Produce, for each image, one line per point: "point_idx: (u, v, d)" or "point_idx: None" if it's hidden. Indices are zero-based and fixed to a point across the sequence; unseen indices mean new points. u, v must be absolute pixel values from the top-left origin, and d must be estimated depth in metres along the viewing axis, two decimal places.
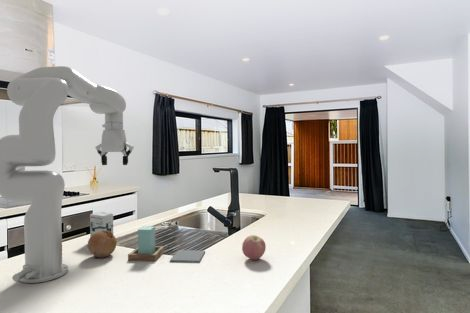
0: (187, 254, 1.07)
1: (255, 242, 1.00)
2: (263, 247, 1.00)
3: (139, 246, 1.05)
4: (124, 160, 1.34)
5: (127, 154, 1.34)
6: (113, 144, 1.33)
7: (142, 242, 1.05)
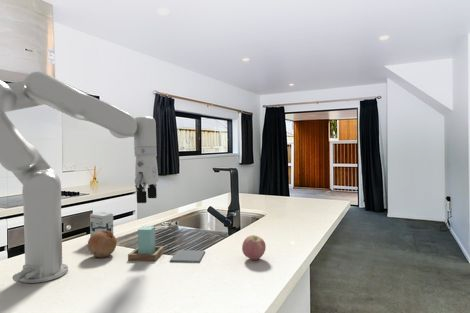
0: (187, 254, 1.07)
1: (255, 242, 1.00)
2: (263, 247, 1.00)
3: (139, 246, 1.05)
4: None
5: None
6: (154, 174, 1.07)
7: (142, 242, 1.05)
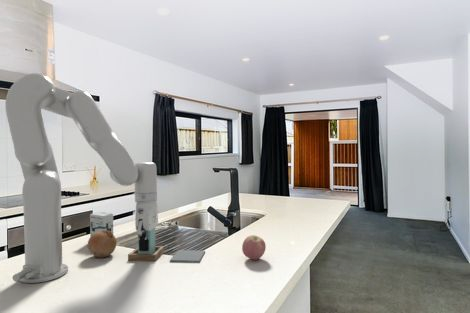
0: (187, 254, 1.07)
1: (255, 242, 1.00)
2: (263, 247, 1.00)
3: None
4: None
5: None
6: (154, 219, 1.08)
7: None
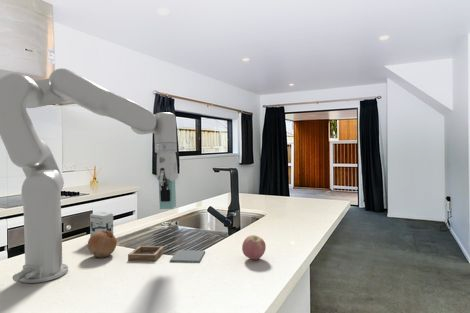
0: (187, 254, 1.07)
1: (255, 242, 1.00)
2: (263, 247, 1.00)
3: (160, 197, 1.04)
4: None
5: None
6: (175, 170, 1.07)
7: None
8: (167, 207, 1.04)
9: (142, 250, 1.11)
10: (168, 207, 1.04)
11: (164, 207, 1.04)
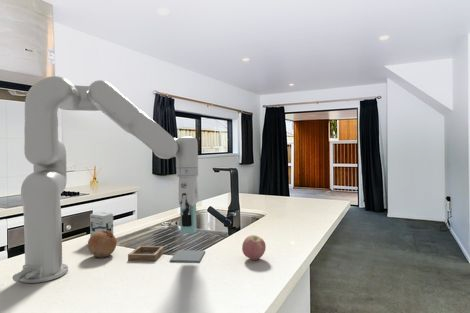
0: (187, 254, 1.07)
1: (255, 242, 1.00)
2: (263, 247, 1.00)
3: None
4: None
5: None
6: (196, 194, 1.06)
7: None
8: (188, 232, 1.03)
9: (142, 250, 1.11)
10: (189, 232, 1.03)
11: (185, 232, 1.04)
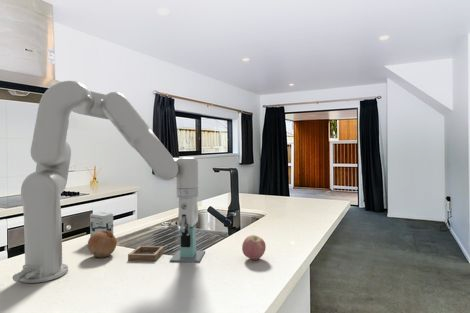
0: None
1: (255, 242, 1.00)
2: (263, 247, 1.00)
3: None
4: None
5: None
6: (196, 214, 1.06)
7: None
8: (187, 255, 1.04)
9: (142, 250, 1.11)
10: (188, 255, 1.04)
11: (184, 255, 1.04)
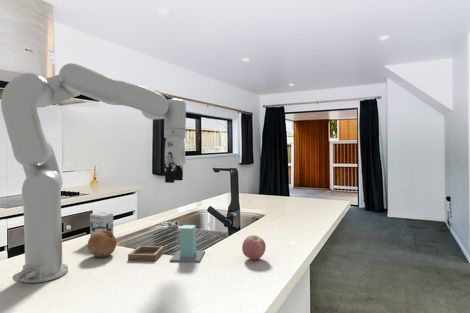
0: None
1: (255, 242, 1.00)
2: (263, 247, 1.00)
3: (181, 245, 1.04)
4: None
5: None
6: (182, 156, 1.10)
7: (185, 240, 1.04)
8: (187, 255, 1.04)
9: (142, 250, 1.11)
10: (188, 256, 1.04)
11: (184, 255, 1.04)
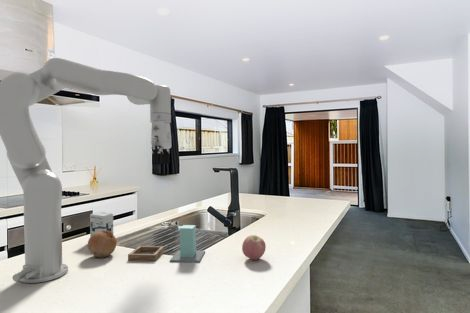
0: None
1: (255, 242, 1.00)
2: (263, 247, 1.00)
3: (181, 245, 1.04)
4: None
5: None
6: (168, 139, 1.15)
7: (185, 240, 1.04)
8: (187, 255, 1.04)
9: (142, 250, 1.11)
10: (188, 256, 1.04)
11: (184, 255, 1.04)
